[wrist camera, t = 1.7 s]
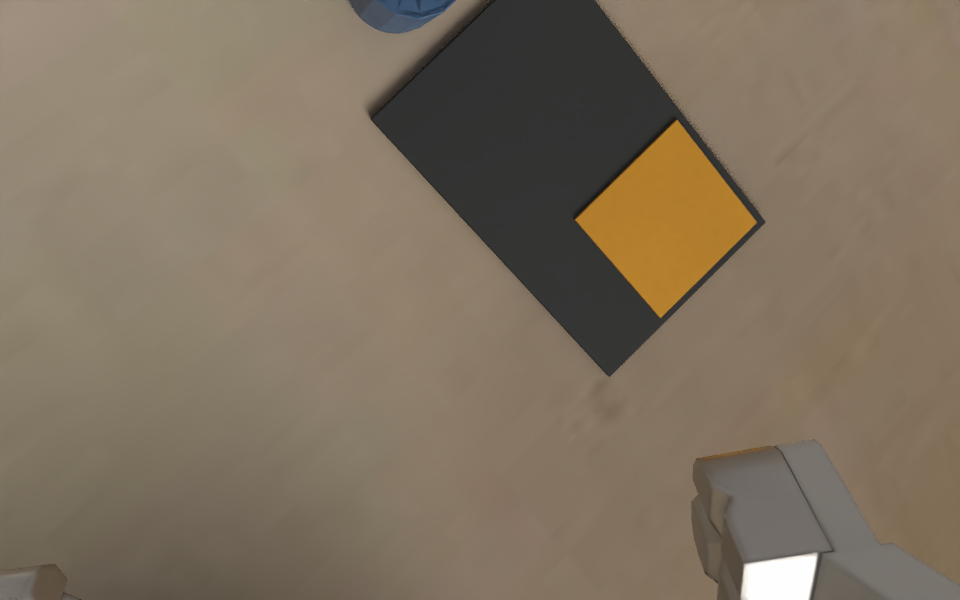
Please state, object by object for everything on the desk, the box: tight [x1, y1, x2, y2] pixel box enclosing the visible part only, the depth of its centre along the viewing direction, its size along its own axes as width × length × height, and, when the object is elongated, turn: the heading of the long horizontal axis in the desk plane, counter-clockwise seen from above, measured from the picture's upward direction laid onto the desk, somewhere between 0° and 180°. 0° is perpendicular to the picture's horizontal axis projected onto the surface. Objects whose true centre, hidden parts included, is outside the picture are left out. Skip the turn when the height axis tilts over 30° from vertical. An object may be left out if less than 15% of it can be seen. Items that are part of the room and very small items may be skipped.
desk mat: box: [371, 0, 765, 377], centre depth 46 cm, size 20×13×1 cm, turn 43°
